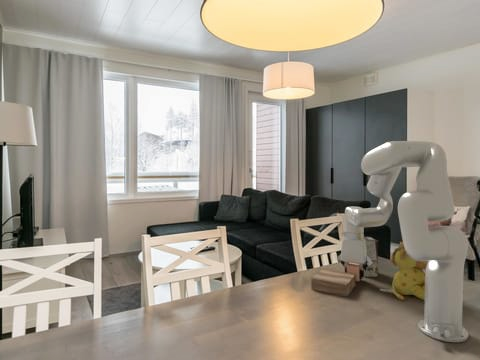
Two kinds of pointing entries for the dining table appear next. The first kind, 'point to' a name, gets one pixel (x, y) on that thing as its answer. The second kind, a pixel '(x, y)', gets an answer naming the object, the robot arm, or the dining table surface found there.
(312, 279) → the walnut base
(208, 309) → the dining table surface
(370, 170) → the robot arm
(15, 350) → the dining table surface
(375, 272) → the coffee box
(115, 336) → the dining table surface
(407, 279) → the giraffe plush
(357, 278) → the terracotta block
